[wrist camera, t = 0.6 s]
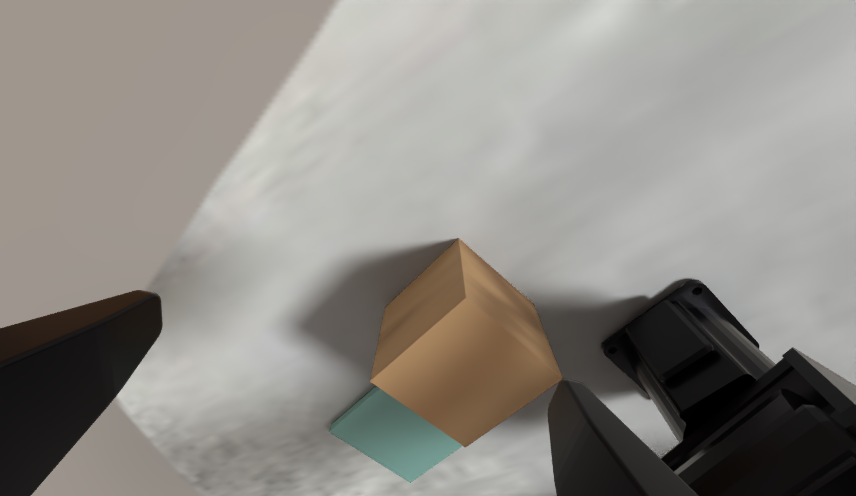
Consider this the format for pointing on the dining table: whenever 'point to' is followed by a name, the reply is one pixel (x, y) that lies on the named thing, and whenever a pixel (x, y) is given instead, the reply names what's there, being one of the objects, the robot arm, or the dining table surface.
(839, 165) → the dining table surface
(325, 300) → the dining table surface
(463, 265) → the walnut cube
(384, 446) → the teal pad
